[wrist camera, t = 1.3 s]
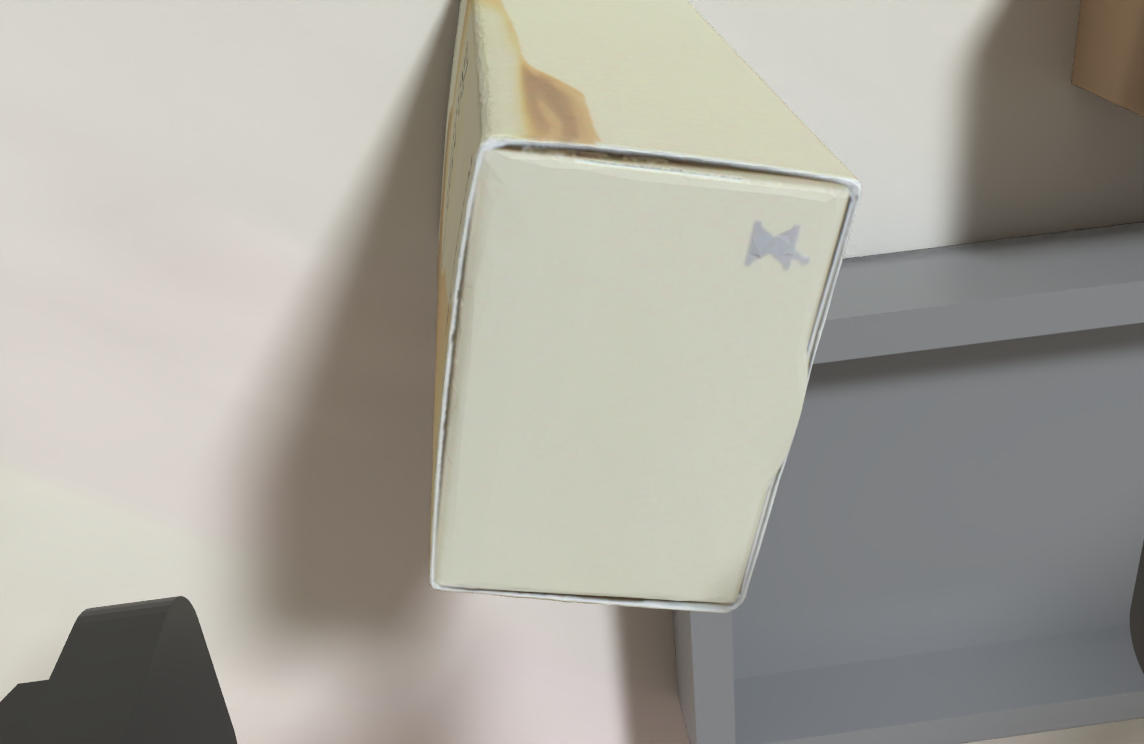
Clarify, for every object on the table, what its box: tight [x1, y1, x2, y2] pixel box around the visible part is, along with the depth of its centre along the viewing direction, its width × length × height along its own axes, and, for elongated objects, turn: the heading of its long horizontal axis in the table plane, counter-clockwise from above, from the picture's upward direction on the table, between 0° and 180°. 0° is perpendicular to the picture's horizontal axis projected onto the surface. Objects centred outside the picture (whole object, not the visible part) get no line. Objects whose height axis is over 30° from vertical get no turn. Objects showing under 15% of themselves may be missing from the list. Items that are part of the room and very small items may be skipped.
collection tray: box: [673, 222, 1144, 744], centre depth 27 cm, size 20×13×3 cm, turn 95°
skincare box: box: [429, 0, 862, 613], centre depth 18 cm, size 6×4×12 cm
